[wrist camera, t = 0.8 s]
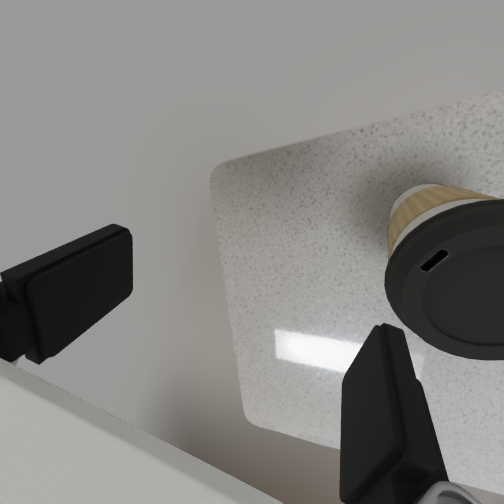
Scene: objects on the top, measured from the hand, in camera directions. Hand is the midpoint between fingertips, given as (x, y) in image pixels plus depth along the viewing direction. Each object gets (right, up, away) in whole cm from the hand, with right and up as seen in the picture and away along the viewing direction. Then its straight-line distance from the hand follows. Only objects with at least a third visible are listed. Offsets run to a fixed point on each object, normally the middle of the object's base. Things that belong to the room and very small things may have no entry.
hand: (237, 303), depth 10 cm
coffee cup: (+18, +6, +17) cm, 26 cm away
